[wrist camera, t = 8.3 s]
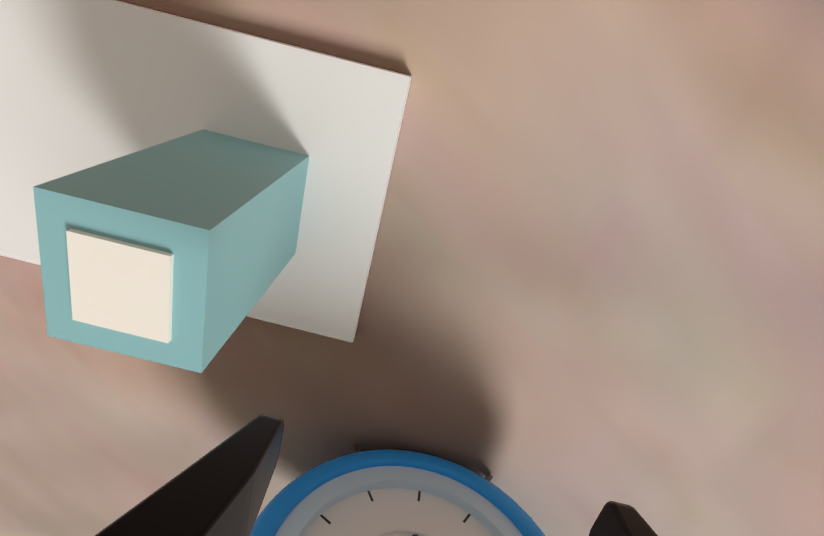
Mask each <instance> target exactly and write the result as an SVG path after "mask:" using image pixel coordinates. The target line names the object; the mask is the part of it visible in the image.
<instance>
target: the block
mask: <svg viewBox="0 0 824 536" xmlns="http://www.w3.org/2000/svg"><path fill="white" fill-rule="evenodd" d="M308 162H309V156H308V155H304V154H300V153H296V152H292V151H288V150H284V149H280V148H276V147H272V146H268V145H264V144H260V143H256V142H252V141H248V140H244V139H240V138H236V137H232V136H228V135H224V134H220V133H216V132H212V131H208V130H204V129H202V130H199V131H196V132H193V133H190V134H187V135H184V136H181V137H178V138H175V139H173V140H170V141H167V142H164V143H161V144H158V145H155V146H152V147H149V148H146V149H143V150H140V151H137V152H134V153H131V154H128V155H125V156H122V157H119V158H116V159H113V160H110V161H107V162H104V163H101V164H99V165H96V166H93V167H90V168H87V169H84V170H81V171H78V172H75V173H72V174H69V175H66V176H63V177H60V178H57V179H54V180H51V181H48V182H45V183H42V184H39V185H36V186H33V191H34V201H35V211H36V221H37V232H38V242H39V252H40V262H41V273H42V283H43V293H44V303H45V313H46V324H47V334H48V336H50V337H55V338H59V339H63V340H67V341H71V342H75V343H79V344H83V345H87V346H91V347H96V348H100V349H104V350H108V351H112V352H116V353H120V354H124V355H128V356H132V357H137V358H141V359H145V360H149V361H153V362H157V363H161V364H165V365H169V366H173V367H177V368H182V369H186V370H190V371H194V372H198V373H202V372H203V370H204V369H205V368H206V367H207V365H208V364H209V363H210V362H211V360H212V359H213V358H214V356H215V355H216V354H217V353H218V351H219V350H220V349H221V348H222V346H223V345H224V344H225V342H226V341H227V340H228V339H229V337H230V336H231V335H232V334H233V332H234V331H235V330H236V328H237V327H238V326H239V325H240V323H241V322H242V321H243V320H244V318H245V317H246V316H247V314H248V313H249V312H250V311H251V309H252V308H253V307H254V306H255V304H256V303H257V302H258V300H259V299H260V298H261V297H262V295H263V294H264V293H265V292H266V290H267V289H268V288H269V286H270V285H271V284H272V283H273V281H274V280H275V279H276V278H277V276H278V275H279V274H280V272H281V271H282V270H283V269H284V267H285V266H286V265H287V264H288V262H289V261H290V260H291V258H292V257H293V256H294V255H295V253H296V247H297V239H298V232H299V225H300V218H301V211H302V204H303V197H304V190H305V183H306V176H307V169H308Z"/></svg>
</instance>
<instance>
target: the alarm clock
mask: <svg viewBox="0 0 824 536" xmlns="http://www.w3.org/2000/svg"><path fill="white" fill-rule="evenodd" d="M352 451H353V453H352V454H348V455H344V456H341V457H338V458H335V459H332V460H330V461H327V462H325V463H323V464H321V465H319V466H316V467H314V468H312V469H311V470H309V471H307V472H306V473H304V474H302V475H301V476H299V477H298V478H296V479H295V480H294V481H292V482H291V483H290V484H288V485H287V486H286V487H285V488H284V489H283V490H281V491H280V492H279V493H278V494H277V495H276V496H275V497H274V498H273V499H272V500H271V501H270V503H269V504H268V505H267V506H266V507H265V508H264V510H263V511H262V512H261V514H260V515H259V516H258V518H257V519H256V521H255V523H254V526H253V529H252V531H251V534H250V536H545V535H544V533H543V532H542V531H541V529H540V528H539V527H538V526H537V524H536V523H535V522H534V521H533V520H532V518H531V517H530V516H529V515H528V514H527V513H526V512H525V511H524V510H523V509H522V508H521V507H520V506H519V505H518V504H517V503H516V502H515V501H514V500H513V499H511V498H510V497H509V496H508V495H507V494H505V493H504V492H503V491H502V490H500V489H499V488H498V487H496V486H495V485H494V484H492V483H491V480H492V477H493V476H492V475H490V474H488V475H487V476H486V477H485V478H483V477H481V476H480V475H478V474H476V473H475V472H473V471H471V470H469V469H467V468H465V467H463V466H460V465H458V464H456V463H453V462H451V461H448V460H445V459H442V458H439V457H436V456H432V455H429V454H425V453H419V452H414V451H406V450H391V449H384V450H370V451H361V449H360V448H359V446H358V444H353V445H352Z"/></svg>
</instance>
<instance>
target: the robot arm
mask: <svg viewBox="0 0 824 536" xmlns="http://www.w3.org/2000/svg"><path fill="white" fill-rule="evenodd" d="M283 428H284V421H283V420H282V419H281V418H278V417H274V416H270V415H266V414H262V415H260V416H258V417H257V418H255V419H254V420H252V421H251V422H250V423H248V424H247V425H246V426H244V427H243V428H242V429H240V430H239V431H237V432H236V433H235V434H233V435H232V436H231V437H229V438H228V439H226V440H225V441H224V442H222V443H221V444H220V445H218V446H217V447H216V448H214V449H213V450H211V451H210V452H209V453H207V454H206V455H205V456H203V457H202V458H200V459H199V460H198V461H196V462H195V463H194V464H192V465H191V466H190V467H188V468H187V469H185V470H184V471H183V472H181V473H180V474H179V475H177V476H176V477H174V478H173V479H172V480H170V481H169V482H168V483H166V484H165V485H164V486H162V487H161V488H159V489H158V490H157V491H155V492H154V493H153V494H151V495H150V496H148V497H147V498H146V499H144V500H143V501H142V502H140V503H139V504H138V505H136V506H135V507H133V508H132V509H131V510H129V511H128V512H127V513H125V514H124V515H122V516H121V517H120V518H118V519H117V520H116V521H114V522H113V523H112V524H110V525H109V526H107V527H106V528H105V529H103V530H102V531H101V532H99V533H98V534H96V535H95V536H250V534H251V531H252V529H253V526H254V523H255V521H256V518H257V515H258V512H259V510H260V507H261V504H262V502H263V499H264V496H265V494H266V491H267V488H268V485H269V483H270V480H271V477H272V475H273V472H274V469H275V467H276V464H277V460H278V457H279V452H280V446H281V440H282V434H283ZM589 536H658V535H657V534H656V533H655V532H654V531H653V530H652V528H651V527H650V526H649V525H648V524H647V522H646V521H645V520H644V519H643V518H642V517H641V515H640V514H639V513H638V512H637V511H636V510H635V509H634V508H633V507H632V506H630V505H626V504H622V503H618V502H615V501H609V502H607V503H606V504H605V506H604V507H603V509H602V511H601V512H600V514H599V516H598V518H597V519H596V521H595V523H594V525H593V526H592V528H591V530H590V533H589Z"/></svg>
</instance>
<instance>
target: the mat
mask: <svg viewBox="0 0 824 536" xmlns="http://www.w3.org/2000/svg"><path fill="white" fill-rule="evenodd" d="M411 78H412V76H410V75H406V74H402V73H398V72H394V71H390V70H387V69H383V68H379V67H375V66H371V65H367V64H363V63H359V62H355V61H352V60H348V59H344V58H340V57H336V56H332V55H328V54H324V53H320V52H317V51H313V50H309V49H305V48H301V47H297V46H293V45H289V44H285V43H281V42H278V41H274V40H270V39H266V38H262V37H258V36H254V35H250V34H246V33H243V32H239V31H235V30H231V29H227V28H223V27H219V26H215V25H211V24H207V23H204V22H200V21H196V20H192V19H188V18H184V17H180V16H176V15H172V14H169V13H165V12H161V11H157V10H153V9H149V8H145V7H141V6H137V5H134V4H130V3H126V2H122V1H118V0H0V255H2V256H6V257H10V258H14V259H18V260H22V261H26V262H30V263H34V264H38V265H41V262H40V252H39V242H38V232H37V221H36V211H35V201H34V191H33V186H36V185H39V184H42V183H45V182H48V181H51V180H54V179H57V178H60V177H63V176H66V175H69V174H72V173H75V172H78V171H81V170H84V169H87V168H90V167H93V166H96V165H99V164H101V163H104V162H107V161H110V160H113V159H116V158H119V157H122V156H125V155H128V154H131V153H134V152H137V151H140V150H143V149H146V148H149V147H152V146H155V145H158V144H161V143H164V142H167V141H170V140H173V139H175V138H178V137H181V136H184V135H187V134H190V133H193V132H196V131H199V130H202V129H204V130H208V131H212V132H216V133H220V134H224V135H228V136H232V137H236V138H240V139H244V140H248V141H252V142H256V143H260V144H264V145H268V146H272V147H276V148H280V149H284V150H288V151H292V152H296V153H300V154H304V155H308V156H309V162H308V169H307V176H306V183H305V190H304V197H303V204H302V211H301V218H300V225H299V232H298V239H297V247H296V253H295V255H294V256H293V257H292V258H291V260H290V261H289V262H288V264H287V265H286V266H285V267H284V269H283V270H282V271H281V272H280V274H279V275H278V276H277V278H276V279H275V280H274V281H273V283H272V284H271V285H270V286H269V288H268V289H267V290H266V292H265V293H264V294H263V295H262V297H261V298H260V299H259V300H258V302H257V303H256V304H255V306H254V307H253V308H252V309H251V311H250V312H249V313H248V314H247V317H251V318H255V319H259V320H263V321H267V322H271V323H275V324H279V325H283V326H287V327H291V328H295V329H299V330H303V331H307V332H311V333H315V334H319V335H323V336H327V337H331V338H335V339H339V340H343V341H347V342H351V343H353V340H354V338H355V334H356V330H357V325H358V321H359V316H360V312H361V307H362V302H363V298H364V293H365V289H366V284H367V279H368V275H369V270H370V266H371V261H372V257H373V252H374V247H375V243H376V238H377V234H378V229H379V225H380V220H381V215H382V211H383V206H384V202H385V197H386V192H387V188H388V183H389V179H390V174H391V170H392V165H393V160H394V156H395V151H396V147H397V142H398V137H399V133H400V128H401V124H402V119H403V115H404V110H405V105H406V101H407V96H408V92H409V87H410V82H411Z"/></svg>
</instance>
